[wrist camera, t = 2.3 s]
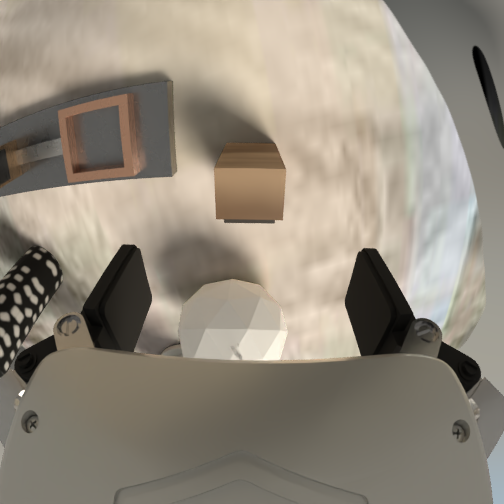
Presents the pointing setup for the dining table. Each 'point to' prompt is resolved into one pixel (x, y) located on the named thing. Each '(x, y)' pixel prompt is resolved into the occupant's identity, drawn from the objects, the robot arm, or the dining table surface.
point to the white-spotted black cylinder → (25, 299)
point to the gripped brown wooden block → (249, 183)
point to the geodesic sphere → (232, 323)
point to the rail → (91, 140)
